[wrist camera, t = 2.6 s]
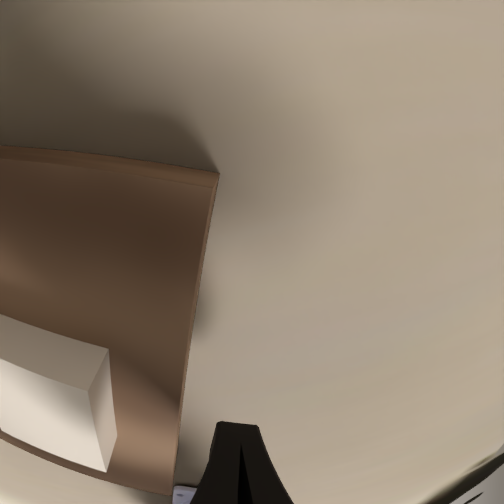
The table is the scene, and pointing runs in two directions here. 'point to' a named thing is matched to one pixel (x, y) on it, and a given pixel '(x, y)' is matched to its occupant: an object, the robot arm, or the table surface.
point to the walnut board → (110, 284)
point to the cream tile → (56, 394)
